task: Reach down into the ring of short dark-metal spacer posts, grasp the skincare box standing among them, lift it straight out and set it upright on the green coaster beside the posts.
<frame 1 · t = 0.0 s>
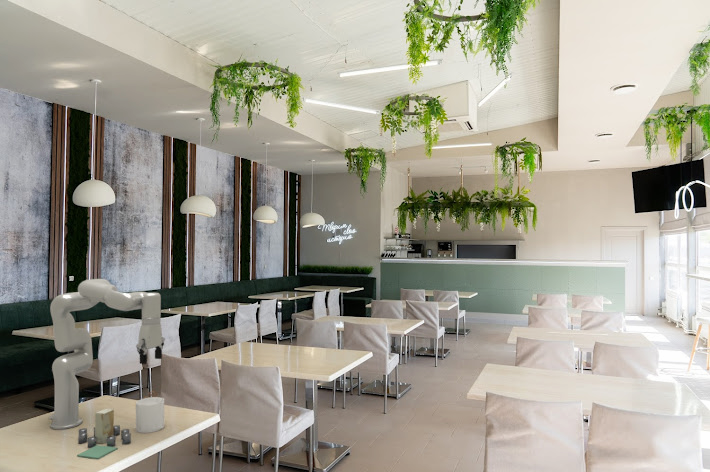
hand: (150, 361, 212), 31 cm above the table, tool pointing down, fingers open, 9 cm apart
coaster: (97, 452, 191), on the table
skincare box: (104, 441, 204), on the table
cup: (150, 428, 218), on the table
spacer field: (104, 440, 204), on the table
brown wooden carved piece: (152, 417, 233), on the table
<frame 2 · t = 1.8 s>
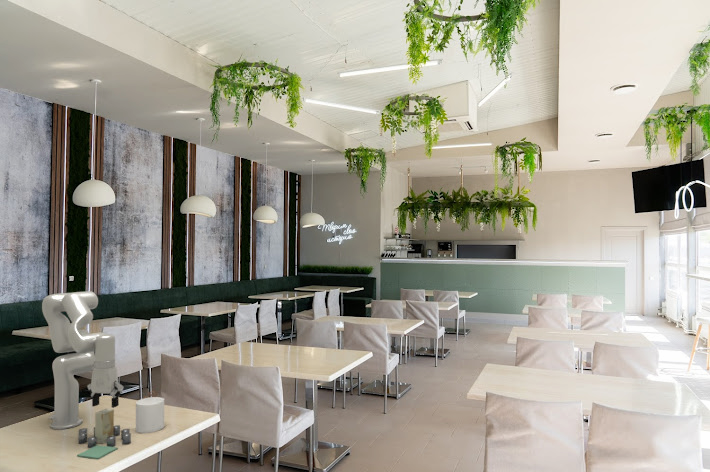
hand: (105, 406, 204), 14 cm above the table, tool pointing down, fingers open, 9 cm apart
nothing on the table moved.
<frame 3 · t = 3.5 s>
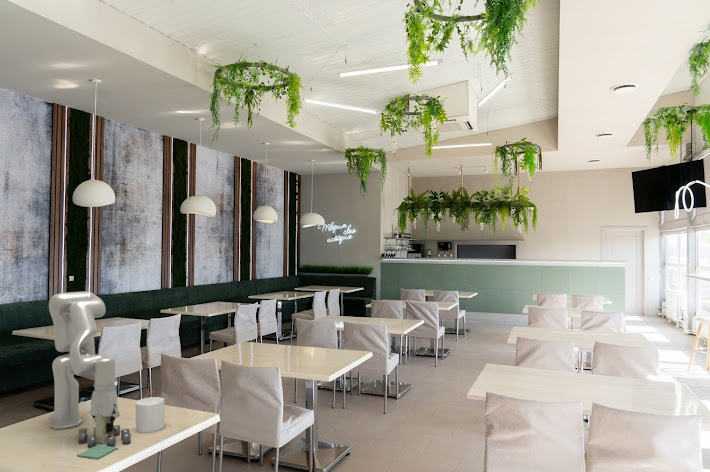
hand: (104, 431, 204), 4 cm above the table, tool pointing down, fingers closed on skincare box, 4 cm apart
skincare box: (104, 440, 204), on the table, touching gripper
everything else where it was.
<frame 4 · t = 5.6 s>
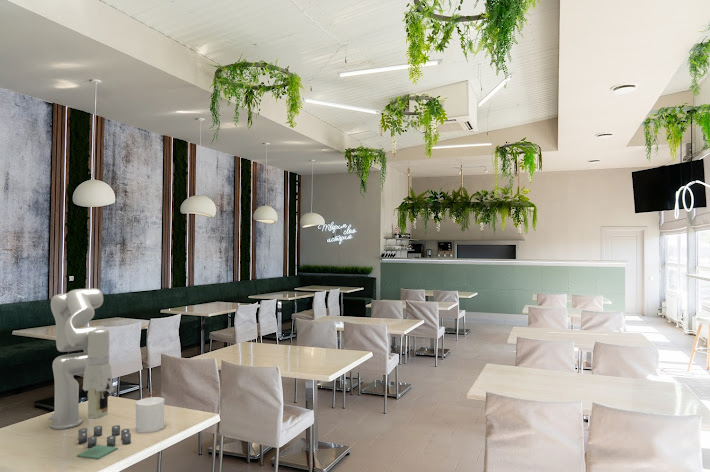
hand: (98, 407, 192), 18 cm above the table, tool pointing down, fingers closed on skincare box, 4 cm apart
skincare box: (97, 417, 192), point 14 cm above the table, touching gripper
everything else where it was.
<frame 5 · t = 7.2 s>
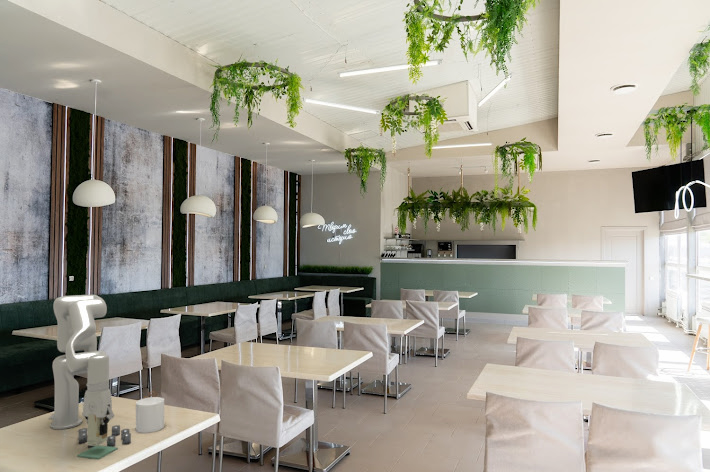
hand: (97, 433, 192), 8 cm above the table, tool pointing down, fingers closed on skincare box, 4 cm apart
skincare box: (97, 443, 192), point 4 cm above the table, touching gripper
everything else where it was.
when the fingers open (5 cm above the table, at t = 8.1 s): skincare box stays where it is, resting on coaster.
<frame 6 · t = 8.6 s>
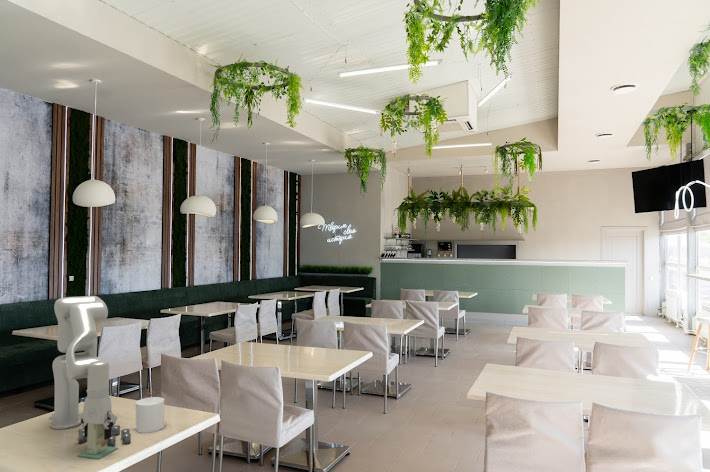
hand: (97, 437, 192), 6 cm above the table, tool pointing down, fingers open, 9 cm apart
skincare box: (97, 451, 192), resting on coaster
everything else where it was.
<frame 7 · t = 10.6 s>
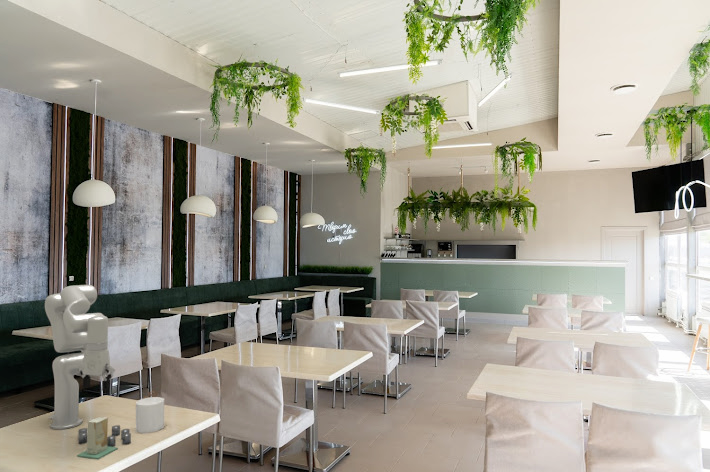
hand: (96, 388, 200), 23 cm above the table, tool pointing down, fingers open, 9 cm apart
nothing on the table moved.
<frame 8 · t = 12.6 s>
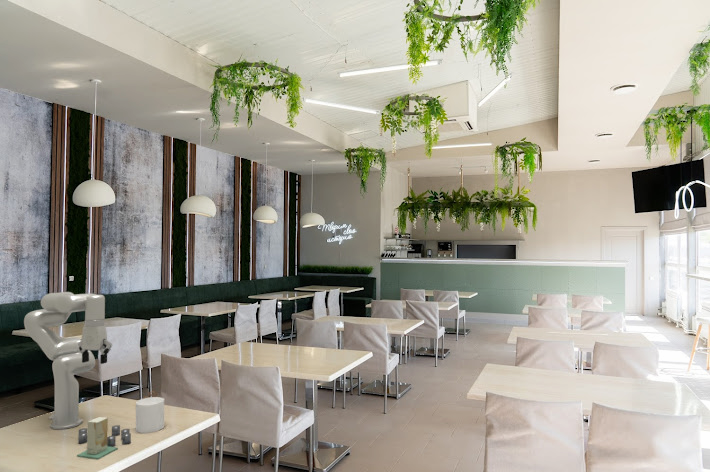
hand: (94, 362, 214), 30 cm above the table, tool pointing down, fingers open, 9 cm apart
nothing on the table moved.
at the end: skincare box inside the target area on the coaster (0.2 cm from its centre), point 0.4 cm above the coaster's base; skincare box tilted 0°; the gripper is holding nothing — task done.
